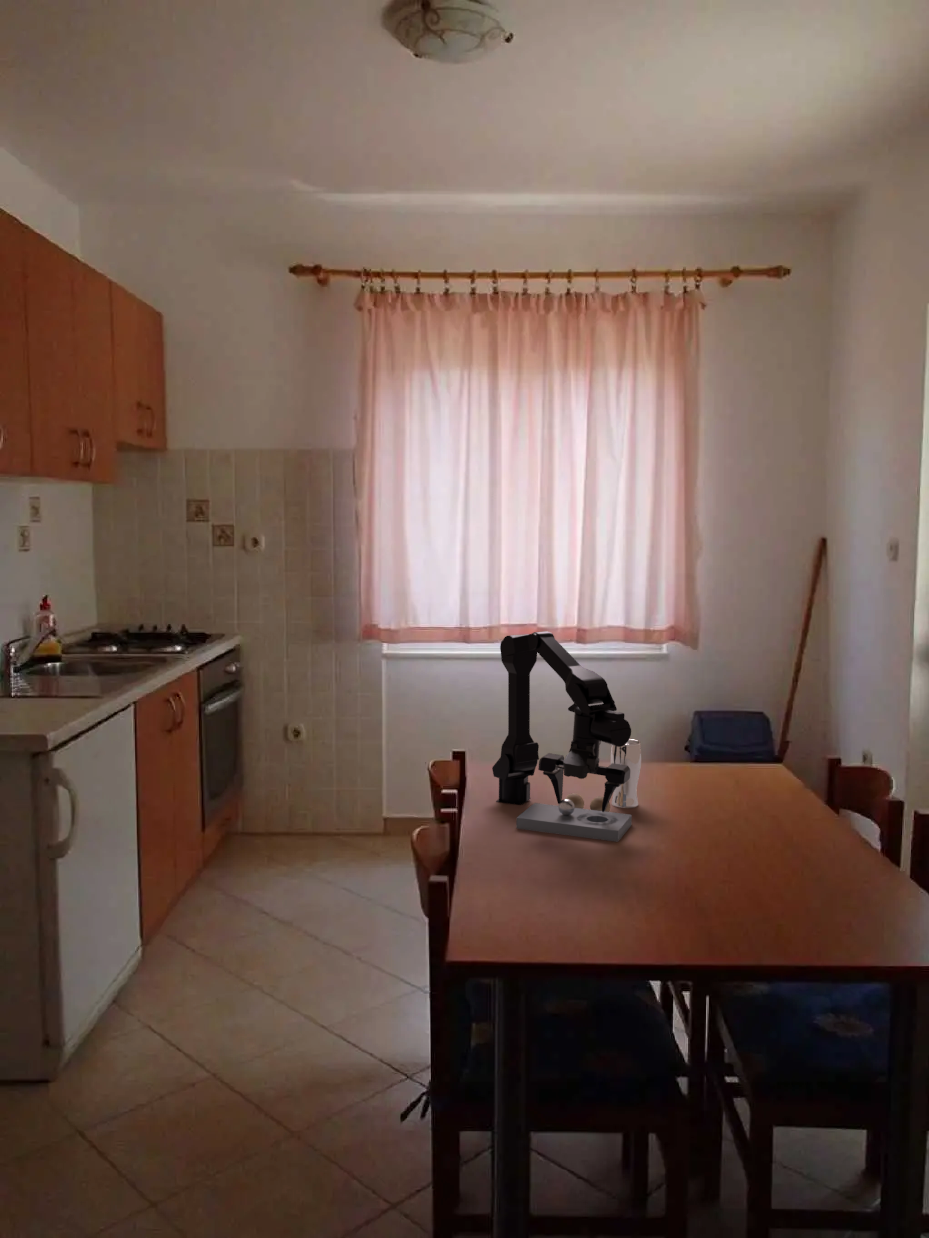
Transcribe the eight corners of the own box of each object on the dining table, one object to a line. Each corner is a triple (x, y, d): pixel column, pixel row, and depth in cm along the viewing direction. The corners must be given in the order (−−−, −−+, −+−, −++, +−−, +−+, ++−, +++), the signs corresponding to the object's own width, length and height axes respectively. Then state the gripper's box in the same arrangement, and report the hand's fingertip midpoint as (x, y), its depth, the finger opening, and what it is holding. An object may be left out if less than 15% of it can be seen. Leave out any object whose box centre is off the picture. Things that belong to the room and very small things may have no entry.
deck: (516, 829, 199) (516, 817, 199) (534, 813, 210) (534, 802, 210) (618, 842, 190) (618, 830, 190) (631, 825, 201) (631, 814, 201)
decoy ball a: (561, 814, 209) (561, 795, 209) (567, 809, 213) (567, 790, 213) (580, 817, 208) (581, 797, 207) (586, 811, 212) (586, 792, 211)
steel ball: (553, 809, 200) (563, 797, 199) (557, 805, 203) (567, 793, 202) (565, 820, 199) (575, 809, 198) (569, 816, 202) (579, 805, 201)
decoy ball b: (587, 817, 207) (587, 798, 207) (592, 812, 211) (593, 792, 211) (607, 820, 205) (607, 800, 205) (612, 814, 209) (612, 795, 209)
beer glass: (642, 809, 214) (643, 745, 212) (611, 809, 214) (613, 744, 212) (637, 800, 221) (638, 738, 219) (607, 800, 221) (609, 738, 219)
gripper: (532, 736, 194) (527, 809, 195) (620, 750, 186) (614, 825, 188) (549, 726, 204) (544, 796, 206) (633, 739, 197) (627, 811, 198)
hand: (581, 807), depth 199 cm, fingers open, 9 cm apart
